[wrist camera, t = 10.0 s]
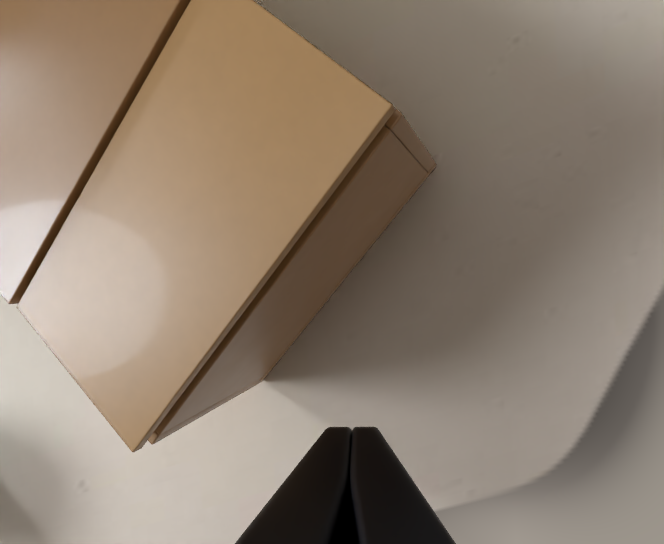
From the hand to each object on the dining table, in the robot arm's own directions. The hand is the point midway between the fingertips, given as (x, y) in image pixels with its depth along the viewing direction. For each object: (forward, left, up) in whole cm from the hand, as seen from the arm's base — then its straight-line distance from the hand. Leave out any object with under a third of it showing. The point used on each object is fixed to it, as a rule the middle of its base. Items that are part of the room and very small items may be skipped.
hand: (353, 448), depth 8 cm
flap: (+7, +5, -4) cm, 9 cm away
